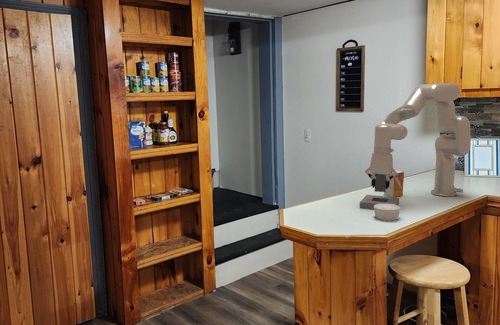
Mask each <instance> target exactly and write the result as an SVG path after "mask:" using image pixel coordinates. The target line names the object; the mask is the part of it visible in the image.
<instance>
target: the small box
mask: <svg viewBox="0 0 500 325" xmlns="http://www.w3.org/2000/svg"><path fill="white" fill-rule="evenodd" d="M394 170H395V169H394ZM395 171H396V172H397V175H396V176H395V177H393V178H392V179H391V180H390V184H389V187H388V189H386V192H383V196H386V197H397V198H398V197H403V194H404V179H405V177H404V176H405V171H402V170H395ZM391 175H393V172H392V173H391V174H390V176H391ZM386 180H387V178H386Z"/></svg>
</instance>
